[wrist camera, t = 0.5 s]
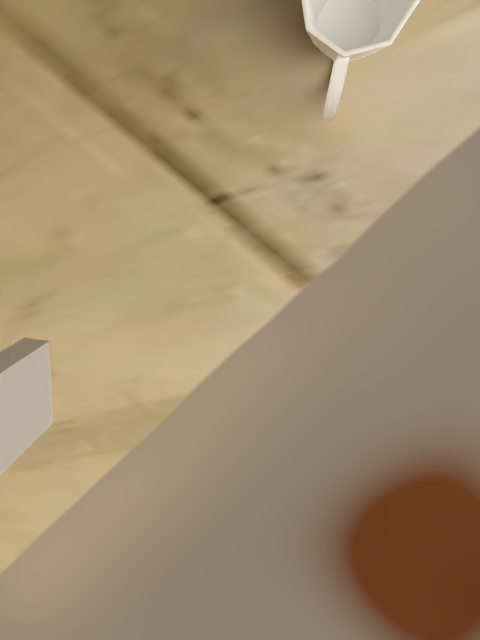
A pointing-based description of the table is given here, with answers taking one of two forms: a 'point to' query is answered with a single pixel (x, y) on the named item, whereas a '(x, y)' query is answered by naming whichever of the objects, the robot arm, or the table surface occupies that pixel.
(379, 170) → the table surface
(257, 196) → the table surface
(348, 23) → the cup
